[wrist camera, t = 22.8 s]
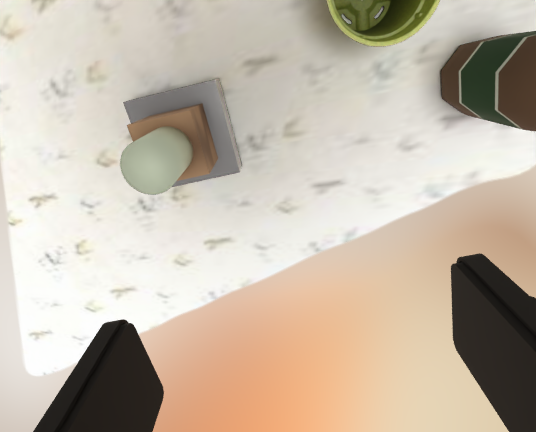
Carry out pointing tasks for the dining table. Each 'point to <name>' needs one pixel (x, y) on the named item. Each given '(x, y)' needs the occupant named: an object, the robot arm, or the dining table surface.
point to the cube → (194, 128)
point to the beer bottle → (494, 80)
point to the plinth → (215, 115)
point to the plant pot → (381, 19)
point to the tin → (156, 160)
